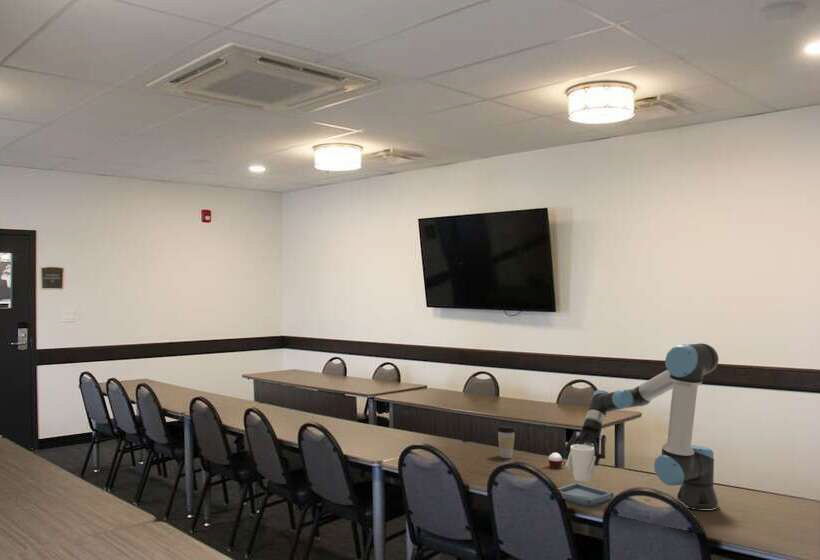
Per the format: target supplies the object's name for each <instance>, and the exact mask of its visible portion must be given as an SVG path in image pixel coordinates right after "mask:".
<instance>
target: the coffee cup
mask: <svg viewBox="0 0 820 560" xmlns="http://www.w3.org/2000/svg"><path fill="white" fill-rule="evenodd" d="M496 431H497V434H498V435H497V439H498V447H499V448H498V449H499V456H500V458H503V459H511V458H512V457H513V453H514V446H515V433H516V432H517V429H516V428H515V426H514V425H510V424H509V425H508V424H503V425H502V424H501V425H498V427H497V428H496Z"/></svg>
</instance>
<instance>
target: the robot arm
mask: <svg viewBox="0 0 820 560" xmlns="http://www.w3.org/2000/svg"><path fill="white" fill-rule="evenodd" d="M664 361H665V362H664V363H665V369H666V370H664V371H662V372H661V373H658V374H657V375H655V376H654V377H651V378H650V379H648V380H646V381H645V382H642V384H640V385H638V386H636V387H634V388H632V389H618V390H615V391H612V392H608V391H607V390H605V389H597V390H595V391H594V392H593V394H592V397H591V398H590V399H591V400H590V403H589V407H588V409H587V413H586V416H585V419H584V422H583V426H582V427H581V430H580V431H577V430H573V432H572V435H571V437H570V439H569V440H568V441H567V443H566V444H565V446H564V448H563V449H564V452H565V453H566V456H565V459H566V462H565V468H566V469H567V470H570V468H571V465H572V457H571V446H572V445H577V444H582V445H585V444H589V445H590V444H592V446H593V447H594V454H595V455H593V461H592V464H591V467H590V471H591V474H594V473H595V469H596V467H598V465H599V463H600V460H601V459H602V460H604V459H606V442H607V437H606V435H605V434H601V433H602V429H603V425H604V422H605V419H606V415H607V413H608V412H615V411H618V410H622V409H623V410H625V409H630V408H635V407H643V406H647V405H649V404H650V403H651V401H652V400H653V399H656V398H657V397H660V396H661V395H664V394H665V393H668V392H669V391H671V390H672V392H671V402H670V410H669V411H670V412H669V420H668V429H667V437H666V443H664V444H663V445H662V446H661V452H660V454H661V455H658V456H657V457H656V458H655V460H654V463H653V468H654V472H655V474H656V476H657V477H658V479H659V480H660V481H661V482H662V483H663V484H665V485H667V486H673V487H674V486H680V487H679V490H678V493H677V495H676V500H677V499H678V500H680V501H681V502H683V503H684V504H685V505H686V506H688V507H689V508H691V509H690V510H692V508H695V509H713V508H716V507H718V508H719V500H718V497H717V493H716V491H715V488H714V487H715V486H714V481H715V479H714V478H715V477H714V476H715V475H714V473H715V472H714V465H715V458H714V451H713V449H711V448H709V447H705V446H702V445H694V444H692V440H693V429H694V419H695V413H696V404H697V394H698V386H700V385H702V384H703V379H704V376H705V375H707V374H709V373H711V372H713V371H714V370H715V369H717V367H718V364H719V354H718V352H717V351H716V350H715V348H714V347H712V346H711V345H709V344H706V343H701V342H700V343H688V344H687V343H686V344H684V343H683V344H679V345H675V346H673V347H672V348H670V349H669V351H668V352H667V353H666V356H665V360H664ZM579 436H580V437H579ZM599 439H600V451H599V449H598V444H597V441H598V440H599Z"/></svg>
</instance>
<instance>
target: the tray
mask: <svg viewBox="0 0 820 560" xmlns="http://www.w3.org/2000/svg"><path fill="white" fill-rule="evenodd" d="M557 489H559V490H560V492H561V493H562V495H563V497H564V498H565V500H564V501H566V500H567V501H566V502H570V503H573V504H576V505H580V506H583V507H587V508H592V507H595V506H598V505H601V504H604V503H606V502H609V501H612V500H611V498H613V499H614V493H613V492H610V491H607V490H604V489H601V488H596V487H592V486H589V485H587V484H583V483H579V482H574V483H570V484H568V485H564V486H562V487H559V488H557Z"/></svg>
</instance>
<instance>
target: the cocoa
mask: <svg viewBox="0 0 820 560" xmlns="http://www.w3.org/2000/svg"><path fill="white" fill-rule="evenodd" d="M544 442H545V446H546V449H547V452H548V454H549V455H548V464H549V466H550V468H552V467H553V469H559V468H562V467H564V465H566V462H565V460H562V459H563V458H562V456H561V454H560V453H559V452H552V453H551V448H550V447H549V443H548V440H547V439H545V440H544ZM562 463H563V464H562Z"/></svg>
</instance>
